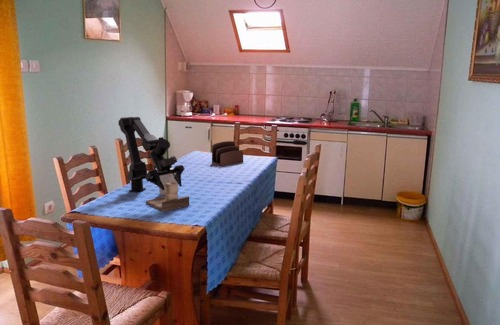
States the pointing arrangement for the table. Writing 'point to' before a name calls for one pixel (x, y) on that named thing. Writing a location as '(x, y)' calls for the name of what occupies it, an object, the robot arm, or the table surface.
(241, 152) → the letter holder
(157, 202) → the brown wooden tray
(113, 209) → the table surface
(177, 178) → the robot arm
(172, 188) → the beige rectangular block
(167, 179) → the small box
